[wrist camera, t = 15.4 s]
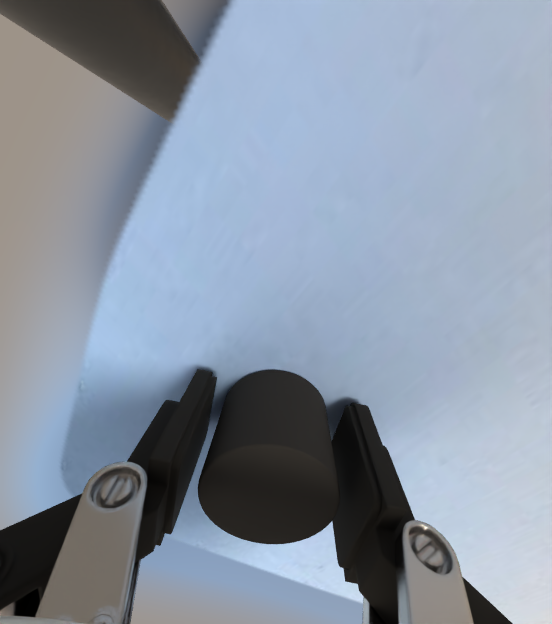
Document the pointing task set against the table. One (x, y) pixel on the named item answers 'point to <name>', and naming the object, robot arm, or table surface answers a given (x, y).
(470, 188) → the table surface
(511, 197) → the table surface
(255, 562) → the table surface
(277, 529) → the black cylinder
